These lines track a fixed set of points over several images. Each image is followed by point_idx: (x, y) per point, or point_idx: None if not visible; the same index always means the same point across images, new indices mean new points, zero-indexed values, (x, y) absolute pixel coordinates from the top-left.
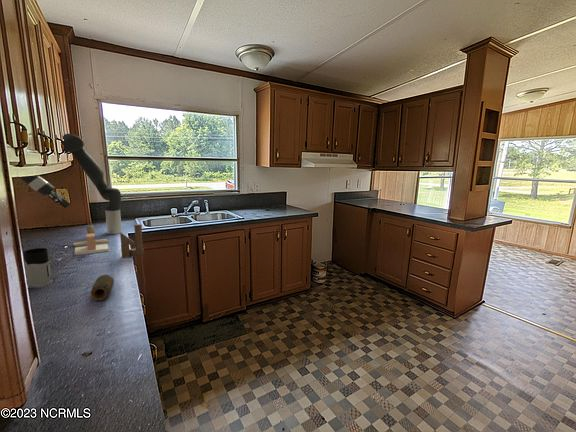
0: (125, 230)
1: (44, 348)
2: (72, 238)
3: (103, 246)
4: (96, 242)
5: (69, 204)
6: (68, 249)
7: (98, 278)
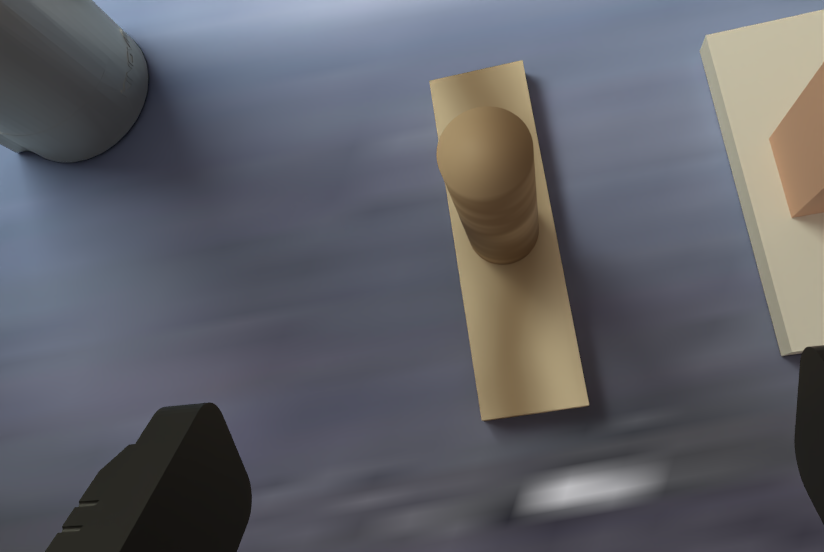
0: None
1: None
2: None
3: (822, 52)
4: (543, 177)
5: (223, 419)
6: (733, 440)
7: None
